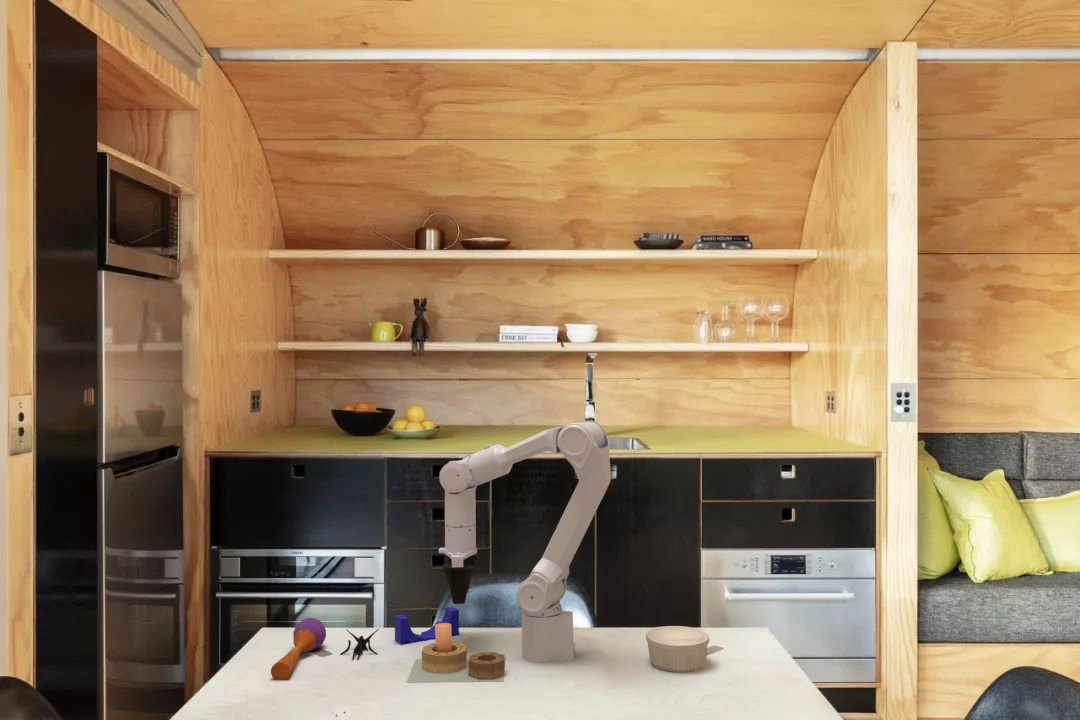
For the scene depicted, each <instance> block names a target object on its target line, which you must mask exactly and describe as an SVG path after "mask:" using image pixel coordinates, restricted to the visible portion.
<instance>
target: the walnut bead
mask: <svg viewBox="0 0 1080 720" xmlns="http://www.w3.org/2000/svg"><path fill="white" fill-rule="evenodd" d="M505 656H506V655H504V654H501V653H497V652H494V651H491V652H490V651H489V652H488V651H487V652H486V651H484V652H481V651H480V652H477V653H474V654H471V655H469V656H468V658H469V660H468V676H469V677H472V678H475V679H479V680H493V679H496V678H499V677H502V676H504V677H505V673H504V672H505V669H506V661H505V658H506V657H505Z"/></svg>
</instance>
